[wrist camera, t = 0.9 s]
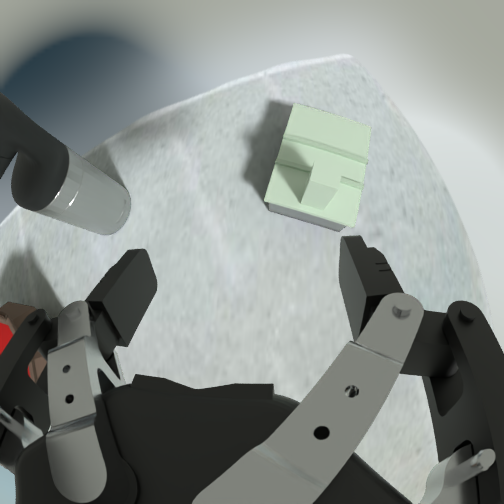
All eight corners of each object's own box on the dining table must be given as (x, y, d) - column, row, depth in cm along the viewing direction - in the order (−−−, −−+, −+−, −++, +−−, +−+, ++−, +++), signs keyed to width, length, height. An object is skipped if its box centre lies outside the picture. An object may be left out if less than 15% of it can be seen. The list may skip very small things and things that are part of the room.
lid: (264, 201, 35) (263, 174, 26) (293, 106, 36) (298, 67, 28) (352, 228, 34) (378, 210, 25) (369, 129, 35) (390, 96, 27)
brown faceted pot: (26, 278, 42) (-31, 273, 26) (104, 337, 40) (39, 355, 24) (14, 369, 40) (-34, 381, 24) (84, 431, 38) (37, 464, 22)
